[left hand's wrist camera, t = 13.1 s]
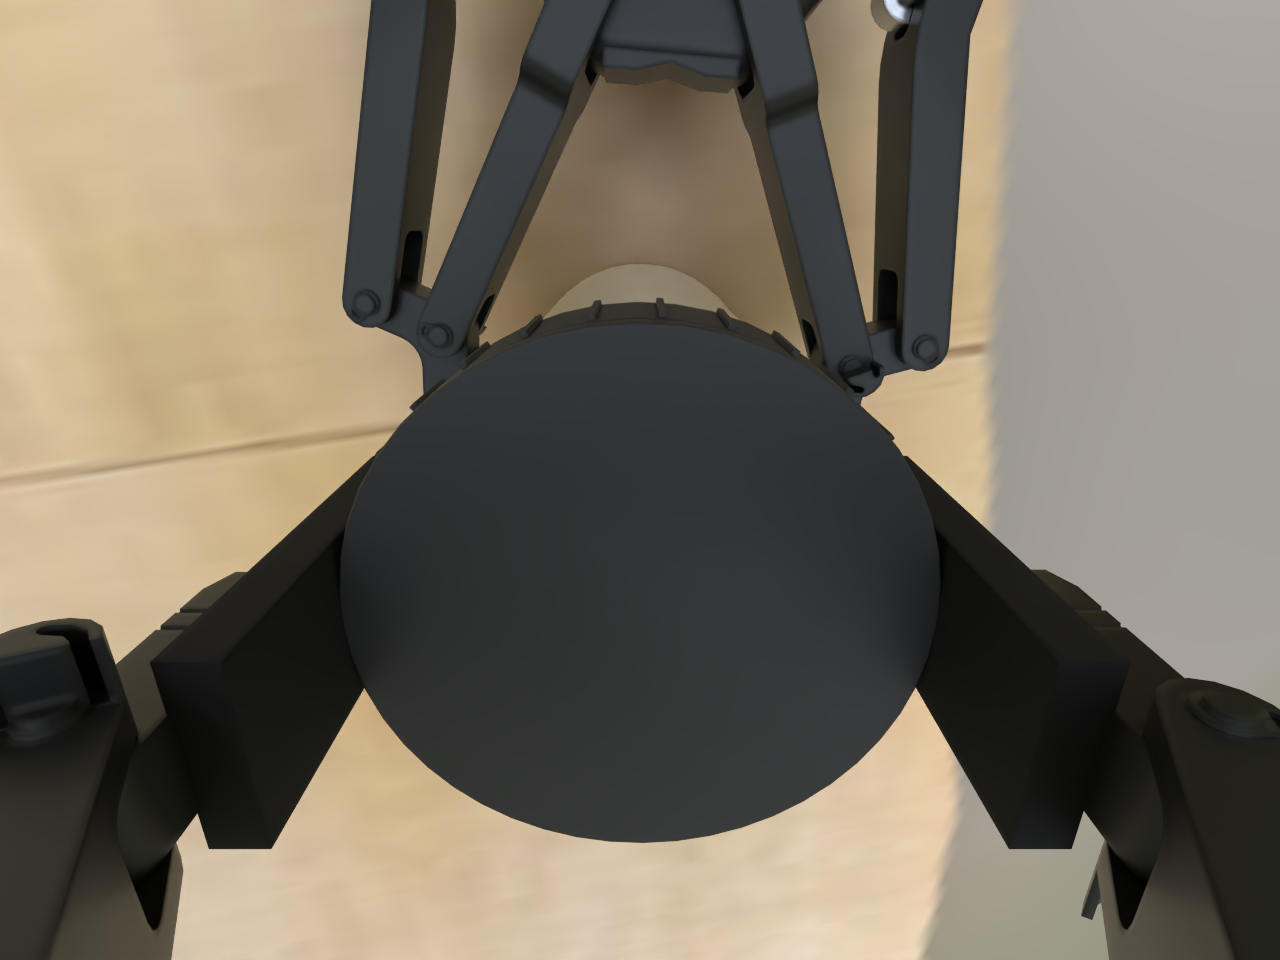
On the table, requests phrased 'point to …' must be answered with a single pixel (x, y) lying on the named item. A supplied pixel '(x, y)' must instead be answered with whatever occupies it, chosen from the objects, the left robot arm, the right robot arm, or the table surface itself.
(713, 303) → the jar
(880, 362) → the right robot arm
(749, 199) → the table surface
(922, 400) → the table surface
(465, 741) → the lid
